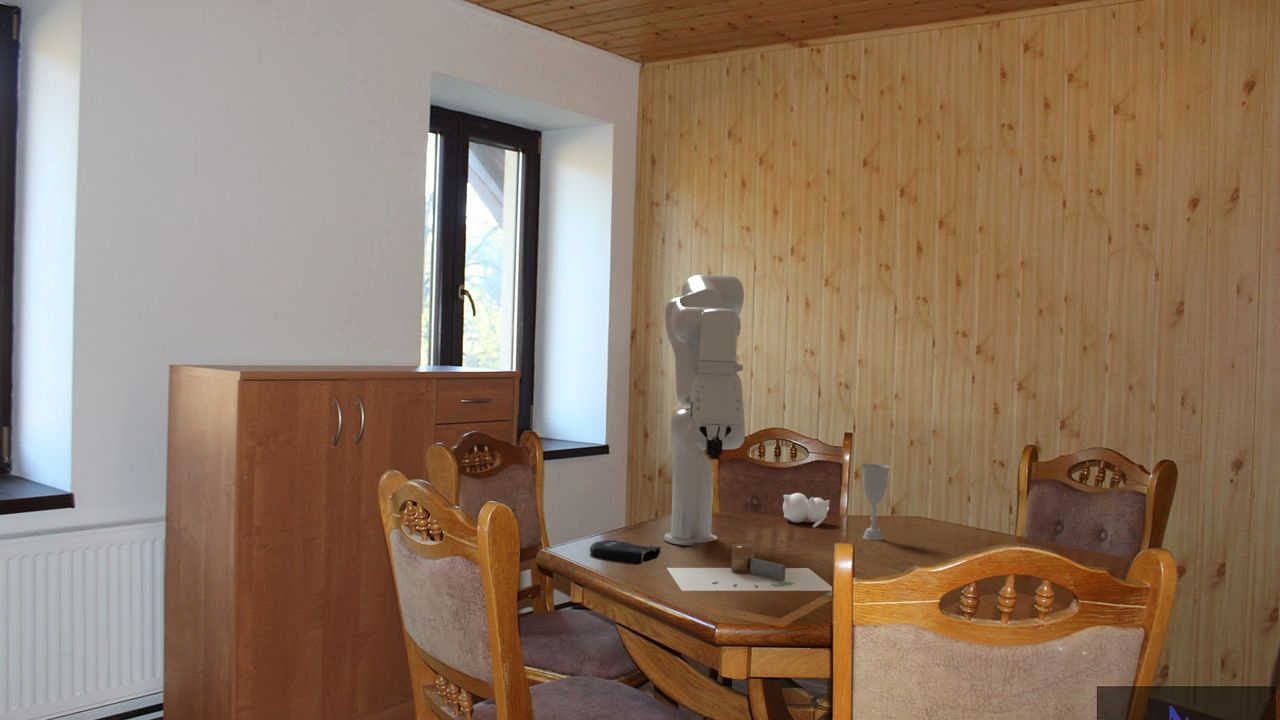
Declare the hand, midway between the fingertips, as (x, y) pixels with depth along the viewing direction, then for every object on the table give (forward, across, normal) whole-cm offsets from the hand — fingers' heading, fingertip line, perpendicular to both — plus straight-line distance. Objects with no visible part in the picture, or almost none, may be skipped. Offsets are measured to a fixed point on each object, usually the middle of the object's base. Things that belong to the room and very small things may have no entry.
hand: (713, 458), depth 207 cm
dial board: (+24, -6, +10) cm, 26 cm away
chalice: (+25, -49, -36) cm, 66 cm away
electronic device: (+25, +16, -15) cm, 33 cm away
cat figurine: (+26, -37, -55) cm, 71 cm away
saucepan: (+22, -8, +7) cm, 25 cm away
